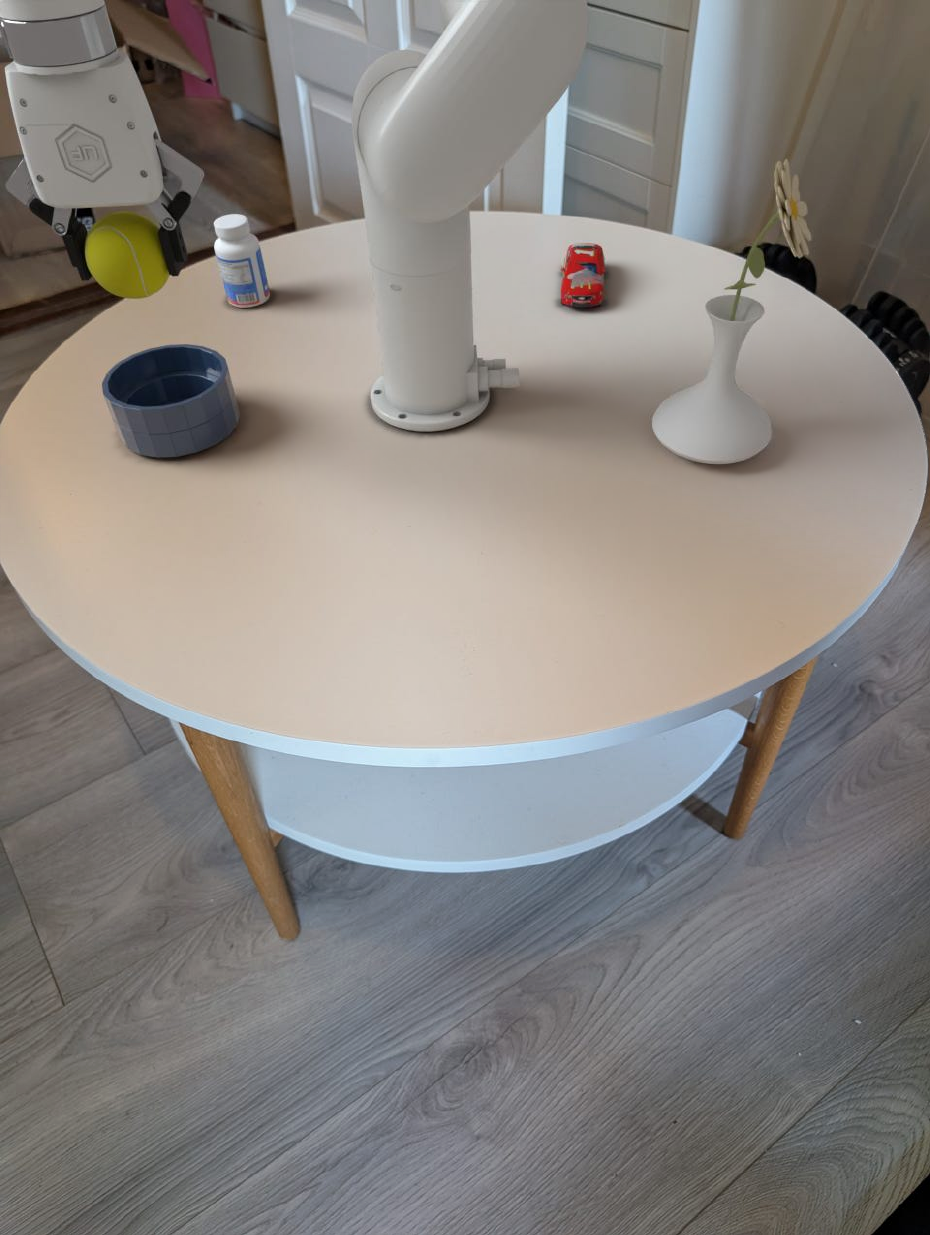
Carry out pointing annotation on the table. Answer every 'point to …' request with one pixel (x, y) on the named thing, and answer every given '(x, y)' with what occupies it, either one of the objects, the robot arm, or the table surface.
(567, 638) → the table surface
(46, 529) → the table surface
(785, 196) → the flower in vase
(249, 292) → the pill bottle
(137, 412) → the blue round bowl
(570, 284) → the race car
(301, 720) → the table surface
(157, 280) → the tennis ball
